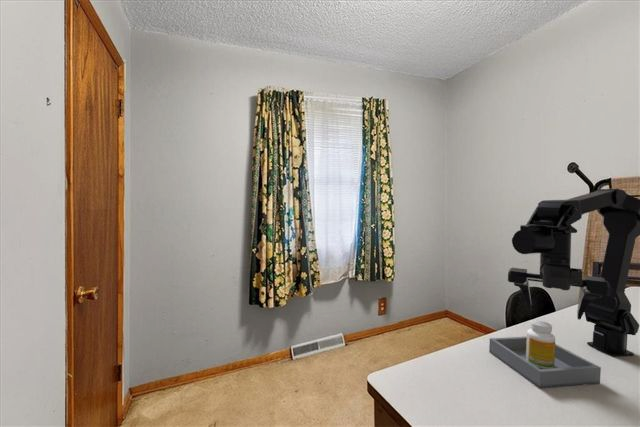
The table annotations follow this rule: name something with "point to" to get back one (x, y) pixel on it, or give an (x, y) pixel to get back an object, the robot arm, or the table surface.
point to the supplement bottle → (540, 345)
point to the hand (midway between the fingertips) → (553, 314)
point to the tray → (563, 374)
